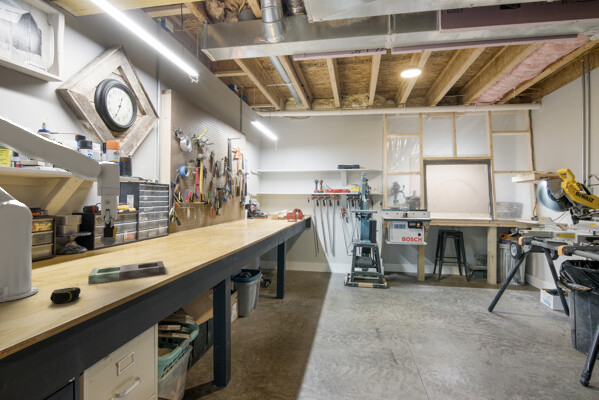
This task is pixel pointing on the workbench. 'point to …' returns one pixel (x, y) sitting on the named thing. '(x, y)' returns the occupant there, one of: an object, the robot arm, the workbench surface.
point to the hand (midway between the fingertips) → (109, 235)
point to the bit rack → (126, 272)
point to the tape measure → (65, 295)
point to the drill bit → (109, 238)
